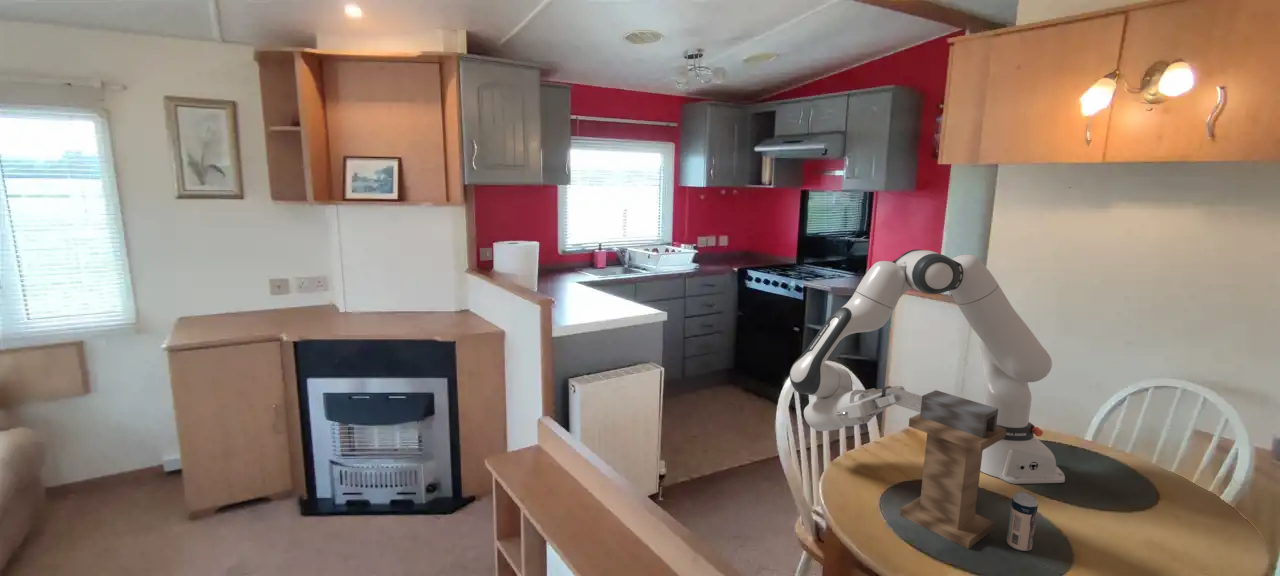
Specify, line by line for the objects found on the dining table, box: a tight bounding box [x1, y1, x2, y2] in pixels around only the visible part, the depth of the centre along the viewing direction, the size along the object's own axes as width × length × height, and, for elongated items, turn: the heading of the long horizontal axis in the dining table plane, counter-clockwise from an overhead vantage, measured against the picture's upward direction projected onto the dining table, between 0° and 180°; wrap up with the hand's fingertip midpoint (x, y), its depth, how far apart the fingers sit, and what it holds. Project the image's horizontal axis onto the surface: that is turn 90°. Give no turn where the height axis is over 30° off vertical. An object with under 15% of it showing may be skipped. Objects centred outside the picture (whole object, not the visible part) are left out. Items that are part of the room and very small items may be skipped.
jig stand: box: [899, 389, 1006, 550], centre depth 139 cm, size 16×12×30 cm
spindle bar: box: [881, 385, 923, 414], centre depth 142 cm, size 22×3×3 cm, turn 36°
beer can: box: [1006, 491, 1039, 552], centre depth 132 cm, size 5×5×12 cm
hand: (901, 396), depth 147 cm, fingers closed on spindle bar, 3 cm apart
